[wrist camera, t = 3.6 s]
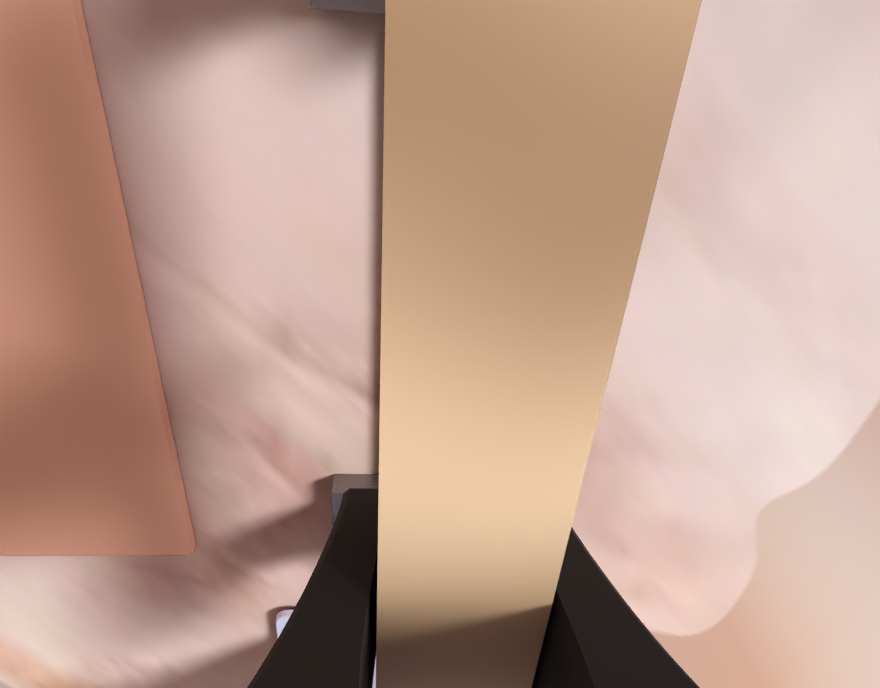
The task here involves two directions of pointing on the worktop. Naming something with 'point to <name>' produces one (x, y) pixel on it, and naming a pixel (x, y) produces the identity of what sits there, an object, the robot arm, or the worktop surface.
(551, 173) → the rail
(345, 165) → the worktop surface
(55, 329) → the mat
